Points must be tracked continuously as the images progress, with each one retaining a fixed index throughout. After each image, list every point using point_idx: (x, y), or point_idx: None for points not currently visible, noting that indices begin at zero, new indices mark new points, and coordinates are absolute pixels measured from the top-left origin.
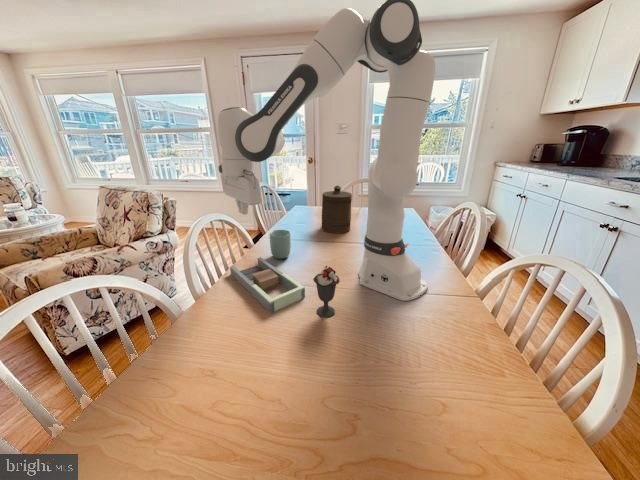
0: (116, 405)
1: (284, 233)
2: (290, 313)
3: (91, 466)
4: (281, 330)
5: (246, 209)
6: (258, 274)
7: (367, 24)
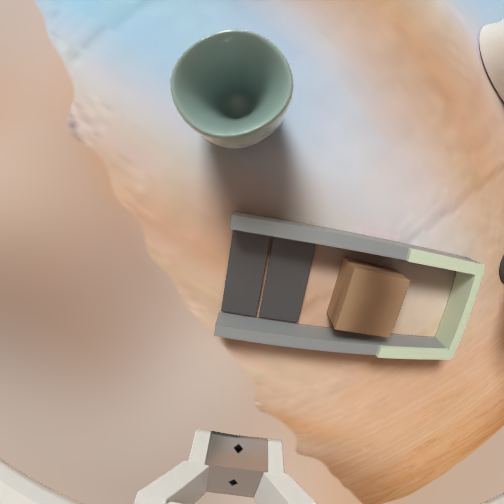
0: (374, 493)
1: (222, 48)
2: None
3: (404, 496)
4: (472, 354)
5: (282, 473)
6: (353, 316)
7: None
